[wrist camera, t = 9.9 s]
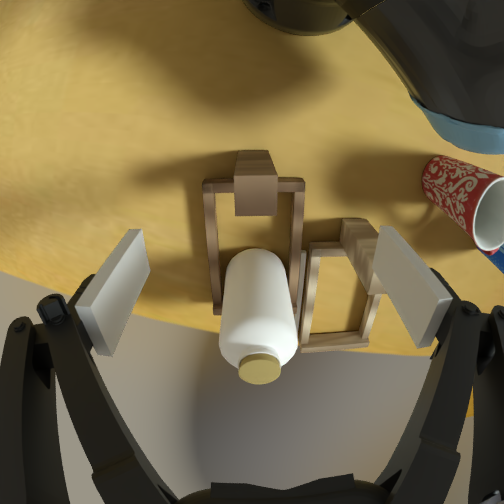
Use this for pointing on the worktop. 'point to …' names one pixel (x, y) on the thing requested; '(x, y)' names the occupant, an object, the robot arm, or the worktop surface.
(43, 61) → the worktop surface
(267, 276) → the potion bottle
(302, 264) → the lane divider
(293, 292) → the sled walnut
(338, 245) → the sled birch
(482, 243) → the mug
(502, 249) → the beer can
